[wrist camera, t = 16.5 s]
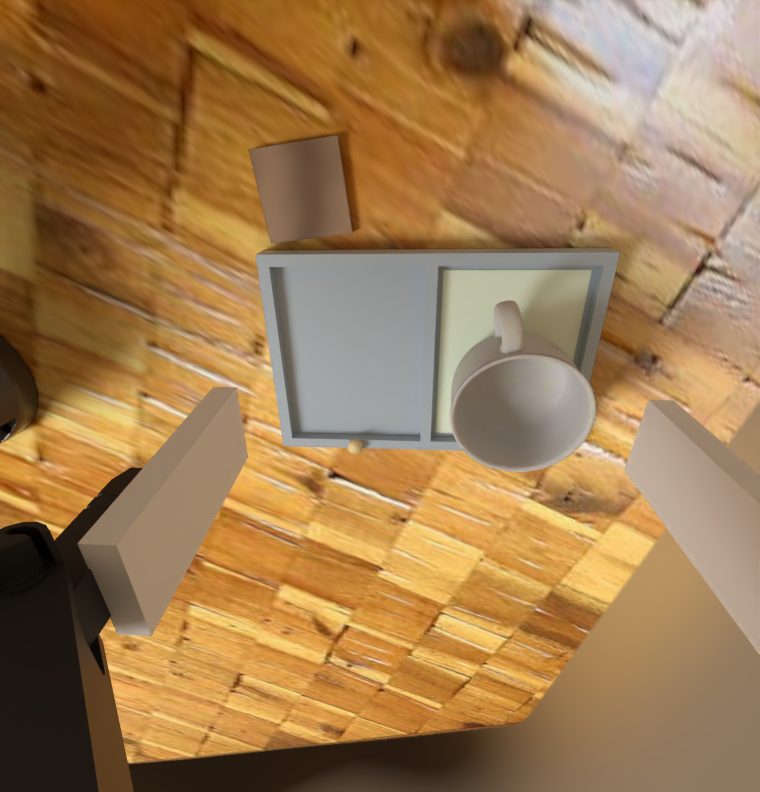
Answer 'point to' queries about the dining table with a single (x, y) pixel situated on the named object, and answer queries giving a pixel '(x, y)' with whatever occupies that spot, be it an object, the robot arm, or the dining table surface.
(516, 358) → the teacup
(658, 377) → the dining table surface
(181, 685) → the dining table surface
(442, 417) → the grey divided tray
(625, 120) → the dining table surface
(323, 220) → the walnut coaster
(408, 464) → the dining table surface
